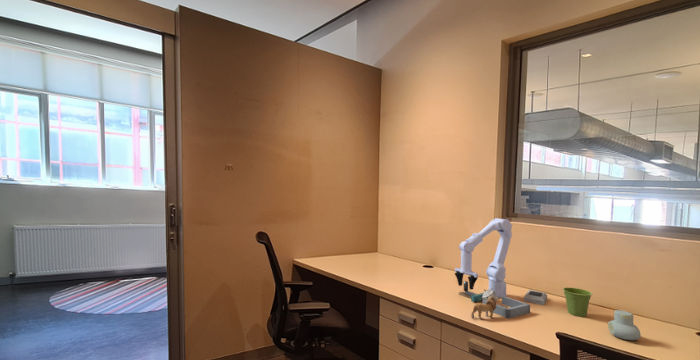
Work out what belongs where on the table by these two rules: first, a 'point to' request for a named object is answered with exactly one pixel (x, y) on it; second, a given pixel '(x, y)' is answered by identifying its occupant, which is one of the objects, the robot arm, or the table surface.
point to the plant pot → (577, 301)
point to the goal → (514, 311)
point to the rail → (465, 294)
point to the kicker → (473, 295)
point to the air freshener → (624, 326)
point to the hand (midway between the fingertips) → (465, 287)
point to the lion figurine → (485, 307)
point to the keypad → (535, 297)
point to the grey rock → (489, 294)
